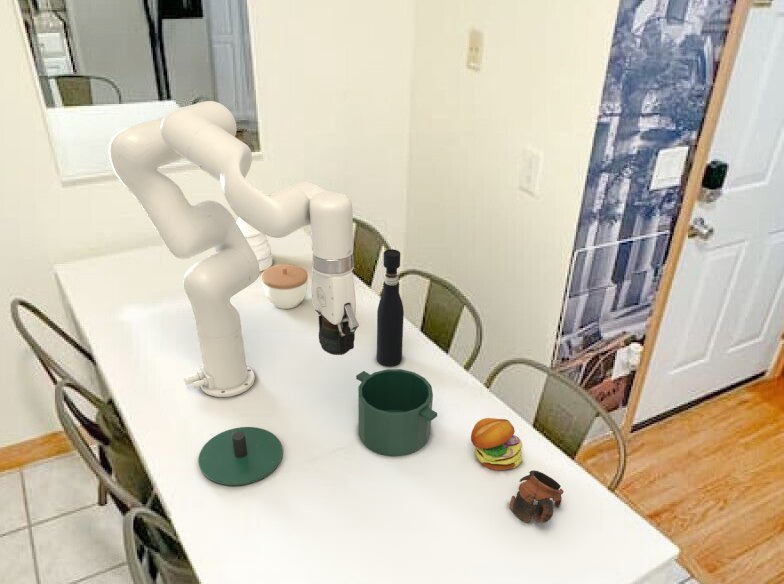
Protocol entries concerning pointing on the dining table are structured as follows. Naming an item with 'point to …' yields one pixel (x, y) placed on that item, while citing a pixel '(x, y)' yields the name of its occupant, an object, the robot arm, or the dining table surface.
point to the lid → (240, 455)
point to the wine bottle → (390, 314)
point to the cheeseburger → (496, 444)
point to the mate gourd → (330, 336)
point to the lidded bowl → (285, 285)
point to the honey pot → (257, 244)
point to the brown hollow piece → (536, 497)
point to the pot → (394, 411)
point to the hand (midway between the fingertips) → (336, 339)
